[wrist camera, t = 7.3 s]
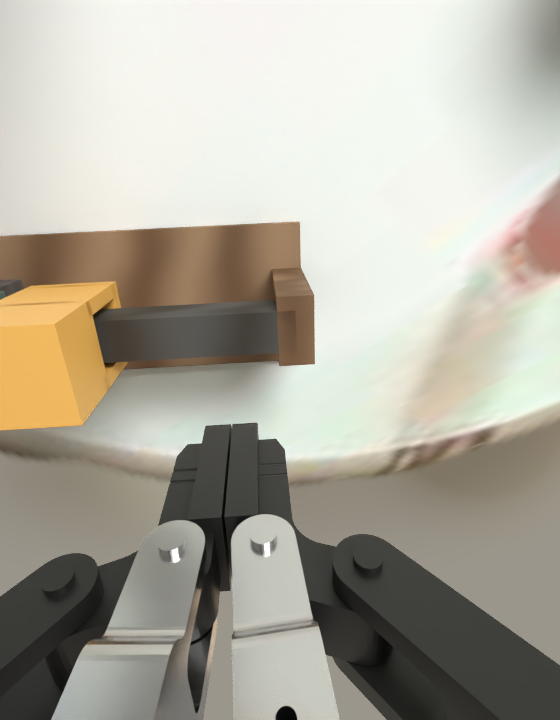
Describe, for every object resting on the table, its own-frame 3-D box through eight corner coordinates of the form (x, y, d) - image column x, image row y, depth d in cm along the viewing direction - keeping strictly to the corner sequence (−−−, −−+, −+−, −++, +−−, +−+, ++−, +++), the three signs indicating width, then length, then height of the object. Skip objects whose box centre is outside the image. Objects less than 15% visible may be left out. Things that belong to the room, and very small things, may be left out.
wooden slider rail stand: (298, 221, 28) (316, 238, 19) (301, 356, 32) (317, 419, 23) (-33, 237, 27) (-165, 263, 19) (13, 372, 31) (-79, 443, 23)
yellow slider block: (115, 281, 24) (54, 324, 17) (131, 357, 26) (82, 425, 19) (31, 285, 24) (-68, 330, 17) (53, 362, 26) (-26, 431, 19)
